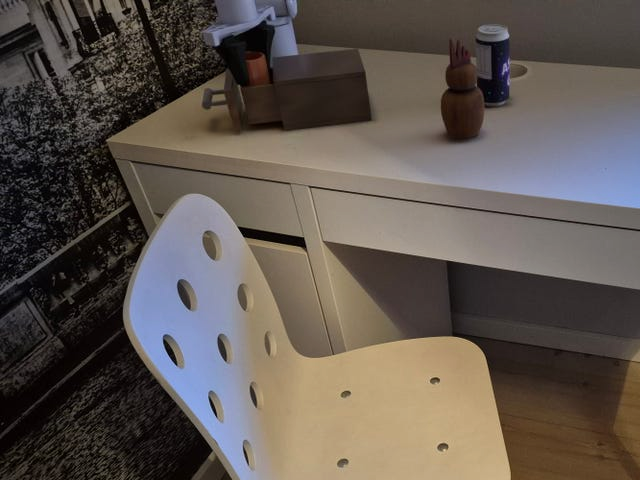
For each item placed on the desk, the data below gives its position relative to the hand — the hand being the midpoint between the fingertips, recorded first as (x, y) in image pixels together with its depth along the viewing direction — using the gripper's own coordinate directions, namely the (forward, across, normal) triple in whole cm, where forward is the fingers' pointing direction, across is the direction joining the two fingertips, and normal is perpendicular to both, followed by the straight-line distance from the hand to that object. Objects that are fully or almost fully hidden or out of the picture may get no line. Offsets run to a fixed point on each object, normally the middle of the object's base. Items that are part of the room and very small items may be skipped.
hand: (254, 79), depth 110 cm
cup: (+1, 0, 0) cm, 1 cm away
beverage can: (+7, -22, +34) cm, 40 cm away
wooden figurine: (+7, -7, +35) cm, 36 cm away
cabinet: (+7, -7, +8) cm, 13 cm away
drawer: (+6, 0, 0) cm, 6 cm away
